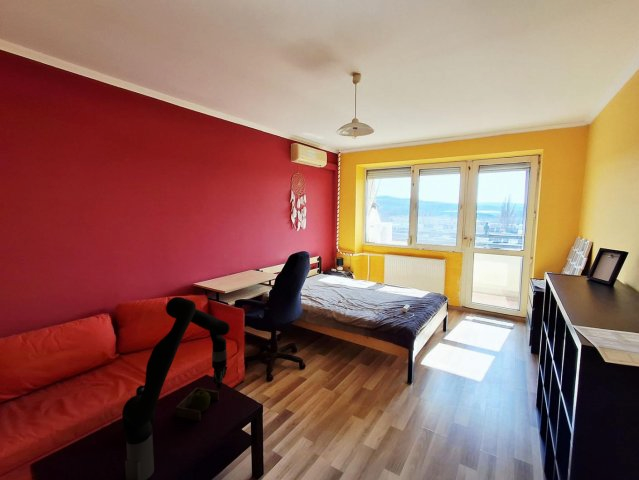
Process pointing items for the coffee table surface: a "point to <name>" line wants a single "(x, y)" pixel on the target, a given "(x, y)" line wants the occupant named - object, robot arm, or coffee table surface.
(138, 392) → the travel mug
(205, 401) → the apple
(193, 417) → the frame
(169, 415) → the coffee table surface
